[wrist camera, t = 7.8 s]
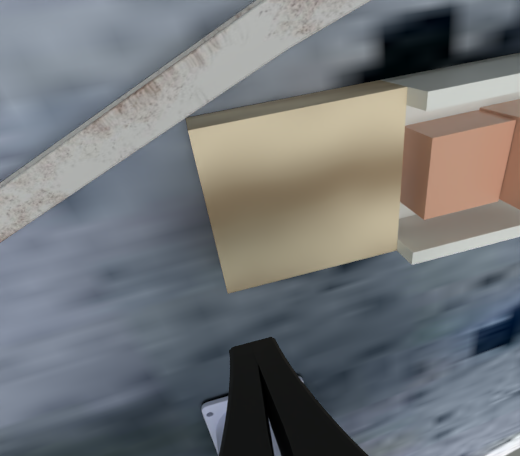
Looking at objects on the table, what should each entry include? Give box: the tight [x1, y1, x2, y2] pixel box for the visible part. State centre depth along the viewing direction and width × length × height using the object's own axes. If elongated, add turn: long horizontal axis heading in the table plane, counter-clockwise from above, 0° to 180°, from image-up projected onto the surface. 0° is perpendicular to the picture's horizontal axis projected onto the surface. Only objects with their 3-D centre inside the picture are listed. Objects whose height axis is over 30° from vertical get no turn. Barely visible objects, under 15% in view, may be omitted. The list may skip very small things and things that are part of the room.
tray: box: [381, 53, 520, 265], centre depth 20 cm, size 9×13×4 cm
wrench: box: [0, 0, 371, 242], centre depth 14 cm, size 8×2×30 cm
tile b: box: [400, 110, 516, 220], centre depth 19 cm, size 4×4×2 cm
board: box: [186, 80, 408, 293], centre depth 19 cm, size 9×10×2 cm
